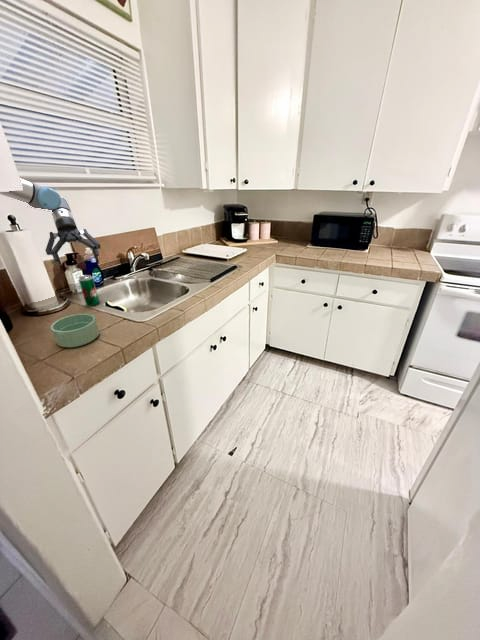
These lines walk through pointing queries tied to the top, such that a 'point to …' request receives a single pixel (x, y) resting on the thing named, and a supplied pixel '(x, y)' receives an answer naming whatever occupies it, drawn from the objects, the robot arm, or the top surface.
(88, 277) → the soda can
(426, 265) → the top surface
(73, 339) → the bowl
